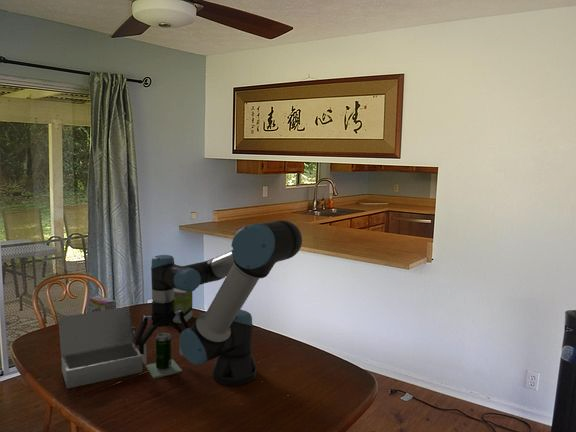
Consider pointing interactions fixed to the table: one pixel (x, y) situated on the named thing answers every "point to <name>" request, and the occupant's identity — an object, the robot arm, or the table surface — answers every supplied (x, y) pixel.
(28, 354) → the table surface
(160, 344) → the beer can
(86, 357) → the case
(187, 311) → the tea box
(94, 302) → the candy bar box
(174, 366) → the pad
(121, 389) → the table surface
